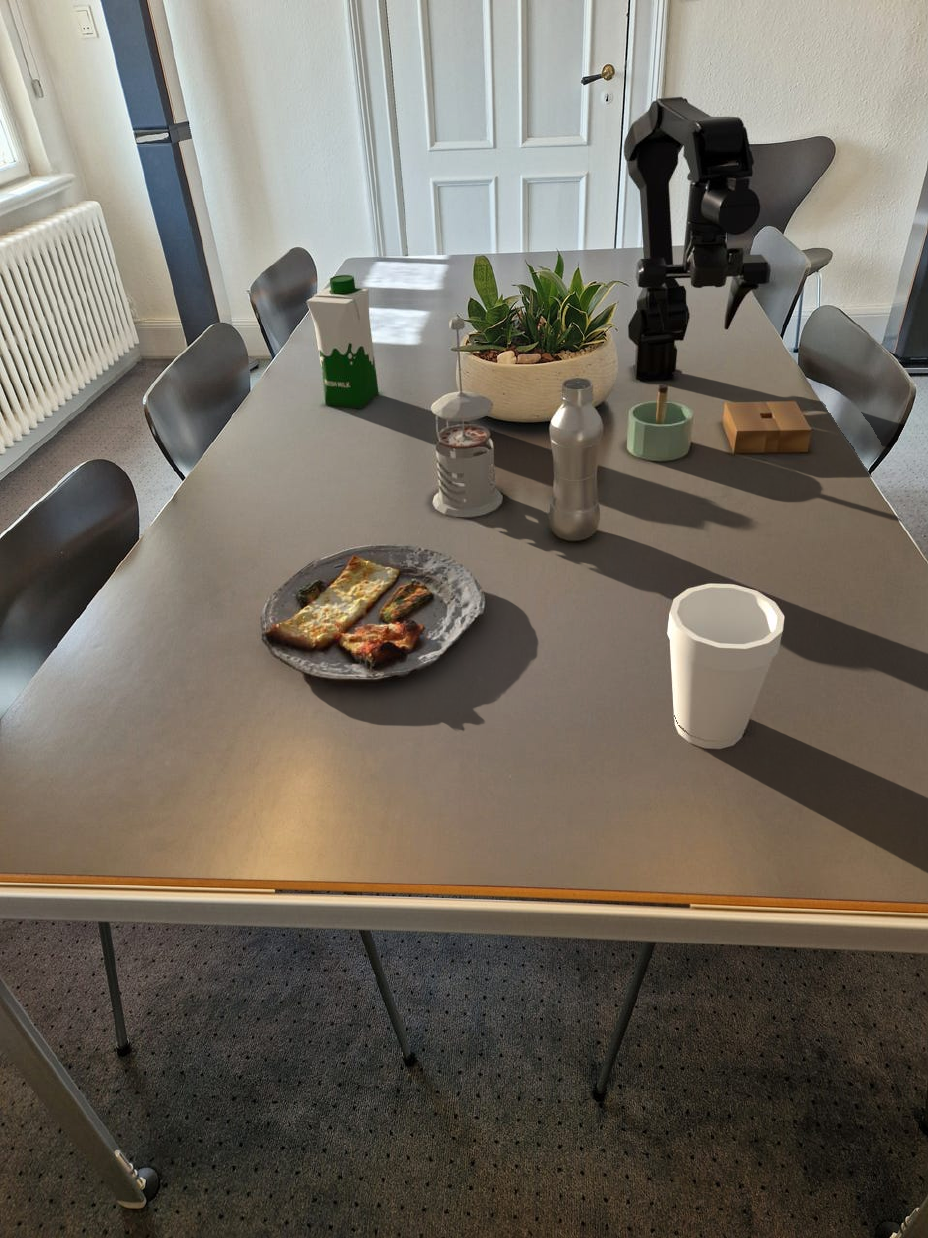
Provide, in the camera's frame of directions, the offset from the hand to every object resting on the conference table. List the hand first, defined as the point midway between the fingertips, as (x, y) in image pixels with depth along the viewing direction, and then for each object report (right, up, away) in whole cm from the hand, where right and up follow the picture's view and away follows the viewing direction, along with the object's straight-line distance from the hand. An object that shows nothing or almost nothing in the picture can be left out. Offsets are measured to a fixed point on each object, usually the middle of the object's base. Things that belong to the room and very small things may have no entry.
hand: (695, 329), depth 131 cm
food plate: (-46, -45, -34) cm, 73 cm away
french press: (-36, -28, -12) cm, 47 cm away
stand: (+10, -17, -2) cm, 20 cm away
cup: (-6, -19, -3) cm, 20 cm away
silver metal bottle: (-22, -34, -21) cm, 45 cm away
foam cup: (-13, -55, -50) cm, 76 cm away
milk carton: (-55, -6, +19) cm, 59 cm away
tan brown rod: (-6, -18, -3) cm, 20 cm away
